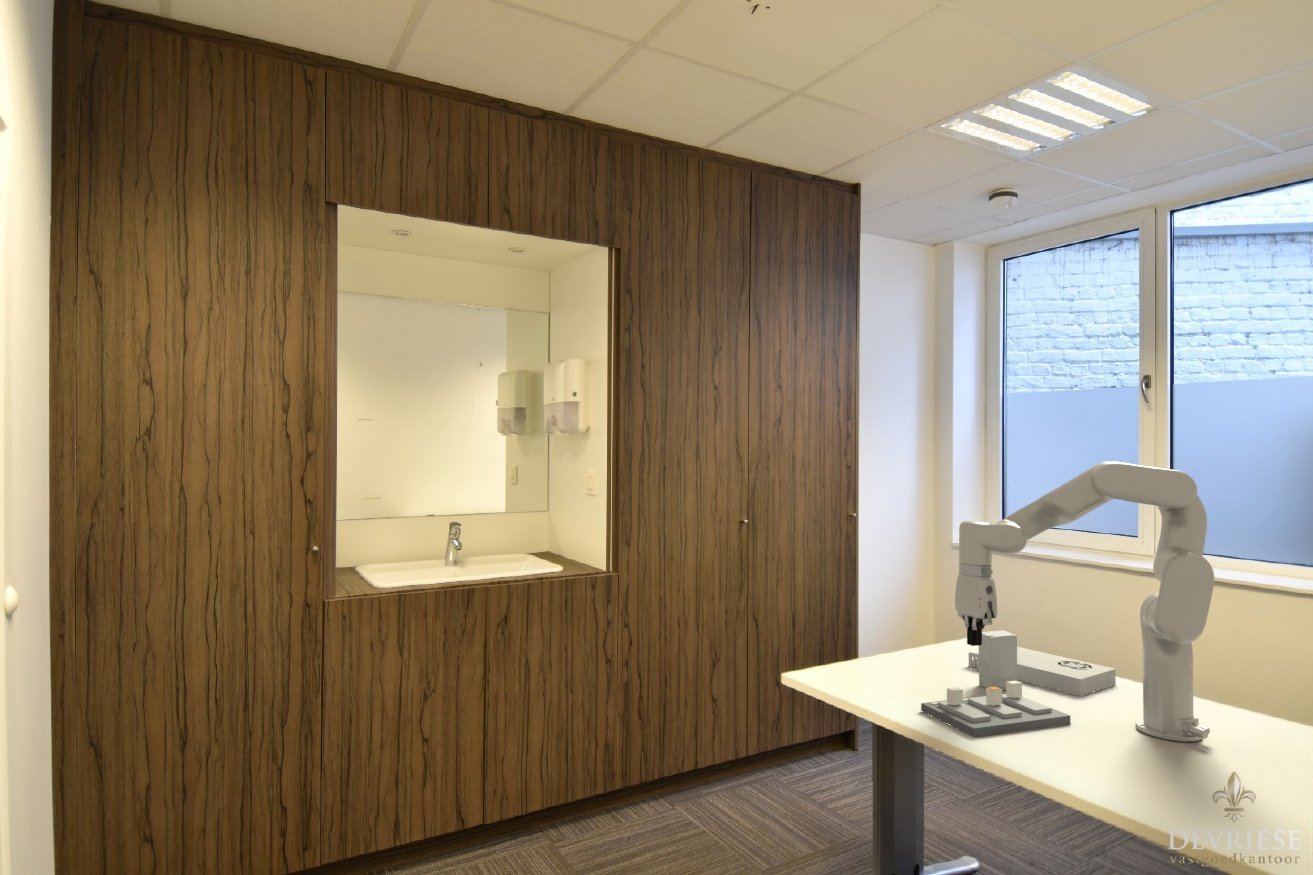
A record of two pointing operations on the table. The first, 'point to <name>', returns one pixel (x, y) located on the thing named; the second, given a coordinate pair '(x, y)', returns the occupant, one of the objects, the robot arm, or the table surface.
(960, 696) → the breaker
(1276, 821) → the table surface
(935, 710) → the breaker panel
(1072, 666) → the power supply unit
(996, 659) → the skincare box
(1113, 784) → the table surface
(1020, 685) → the block
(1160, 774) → the table surface
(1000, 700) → the block
